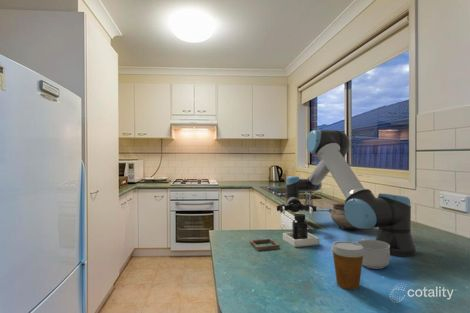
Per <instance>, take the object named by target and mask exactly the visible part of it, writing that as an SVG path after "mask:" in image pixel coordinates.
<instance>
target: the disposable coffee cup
mask: <svg viewBox="0 0 470 313" xmlns="http://www.w3.org/2000/svg"><path fill="white" fill-rule="evenodd" d="M330 249H331V252H332V256H333V264H334V271H335V277H336V278H335V279H336V284H337V286H339V287H340V288H342V289H345V290H351V291H352V290H357V289H359V288H360V282H361V275H362V265H363V264H362V260H363V255H364V253H365V251H364V249H363V246H362V245H360V244H358V243H357V242H355V241H354V242H353V241H345V240H339V241H333V243H332V245H331V247H330Z"/></svg>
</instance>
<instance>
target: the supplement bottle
mask: <svg viewBox="0 0 470 313" xmlns="http://www.w3.org/2000/svg"><path fill="white" fill-rule="evenodd" d="M291 224H292V231H291V232H292V235H293V239H295V240H297V239H308V233H309V231H308V228H309V227H308V225H309V224H308V222H307V220H306V215H305V214H303V213H295V214H294V220H292V222H291Z"/></svg>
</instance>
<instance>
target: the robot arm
mask: <svg viewBox="0 0 470 313" xmlns="http://www.w3.org/2000/svg"><path fill="white" fill-rule="evenodd" d="M350 143H351V142H350V138H349V136H348V135H347V134H346V133H345V132H344V131H341V130H338V129H337V130H335V129H334V130H332V129H331V130H330V129H313V130H311V131H310V132H309V133H308V135H307V138H306V144H305V145H306V146H305V147H306V149H307V152H308V153H309V154H315V156H316V157H317V159H318V160H319V162H318V163H317V165H316V167H315V168H314V170H312V172H311V173H310V175H309V176H308V177H307V178H300V177H299V176H298V175H297V176H295V175H293V176H292V175H289V176H286V178H285V179H286V181H285V185H286V186H285V187H286V189H285V190H286V200H285V203H282V204H279V205H277V206H276V211H277V212H280V213H281V214H284V215H285V214H286V212H285V211H290V212H292V213H298V212H301V211H305V212H309V213H310V215H313V214H314V212H315V213H316V212H317V206H316V205H313V204H312V205H311V204H308V203H305V204H303V203H301V201H300V192H301V193H302V192H317V191H320V190H322V182H323V181H324V179H325V178H326V177H327V176H328V174H329V173H330V174H331V176H332V178H333V179H334V181H335V183H336V184H337V186H338V188H339V189H340V191H341V193H342V194H343V196H344V198H345V199H344V203H345V206H344V211H345V217H346V219H347V220H348V222H349V223H350V224H351V225H353V226H354V227H356V228H357V229H363V230H364V229H365V230H366V229H367V230H368V229H373V228H378V231H377V234H376V237H375V240H378V241H383V242H386V243H388V244H389V245H390V256H397V257H412V256H416V254H417V247H416V245H415V242H414V238H413V236H412V231H411V229H412V220H411V219H412V218H411V217H412V216H411V215H412V212H411V211H412V205H411V200H410V198H409V197H408V196H404V195H398V194H397V195H396V194H390V193H389V194H387V193H381V192H380V193H378V195H377V197H376V196H375V195H374V193H373V191H371V189H368V188H365V187H364V186H363V184H362V182H361V181H360V180H359V178H358V177H357V175H356V174H355V172H354V170H353V169H352V168H351V167H350V165H349V164H348V162H347V160H346V158H345V156H346V155H347V153H348V152H349V150H350V147H351V146H350V145H351V144H350Z"/></svg>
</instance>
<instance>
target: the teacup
mask: <svg viewBox="0 0 470 313" xmlns="http://www.w3.org/2000/svg"><path fill="white" fill-rule="evenodd" d="M356 243H358V244H360V245H362V246H363V249H364V251H365V253H364V255H363V260H362V265H363V266H365V268H369V269H374V270H380V269H383V268H385V267H386V266H388V265H389V264H390V261H391V255H390V245H389V244H388V243H386V242H383V241H378V240H376V239H366V238H361V239H360V240H357V241H356Z"/></svg>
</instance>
